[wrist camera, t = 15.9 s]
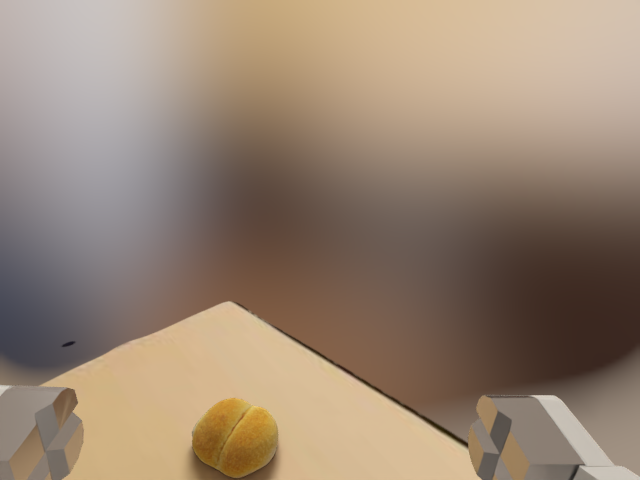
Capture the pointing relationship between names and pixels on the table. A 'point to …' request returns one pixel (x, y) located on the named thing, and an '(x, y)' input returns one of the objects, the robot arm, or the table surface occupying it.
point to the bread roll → (235, 437)
